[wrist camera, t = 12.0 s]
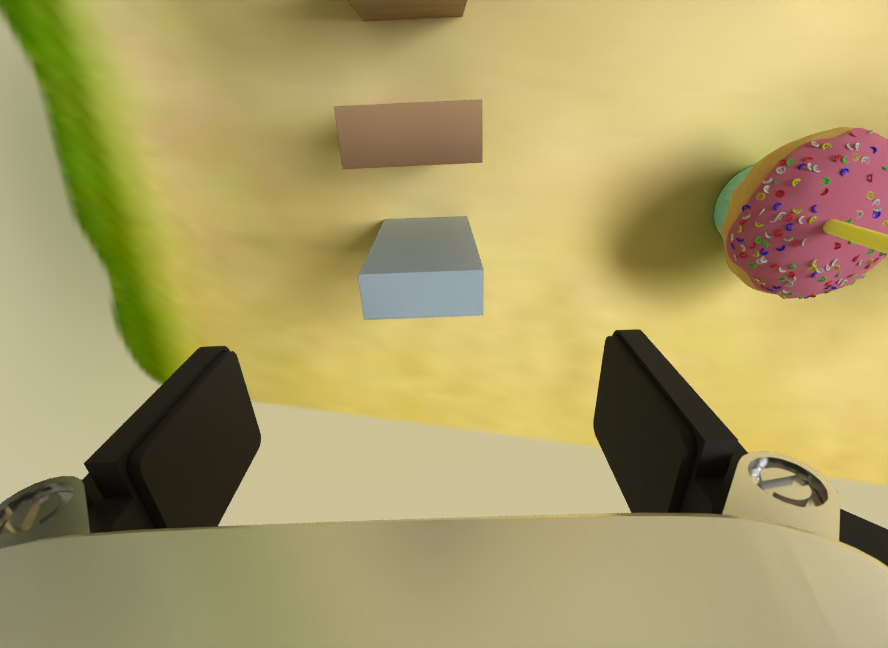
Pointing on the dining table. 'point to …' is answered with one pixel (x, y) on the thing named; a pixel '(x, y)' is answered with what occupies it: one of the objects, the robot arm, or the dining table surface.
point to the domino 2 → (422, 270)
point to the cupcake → (808, 214)
